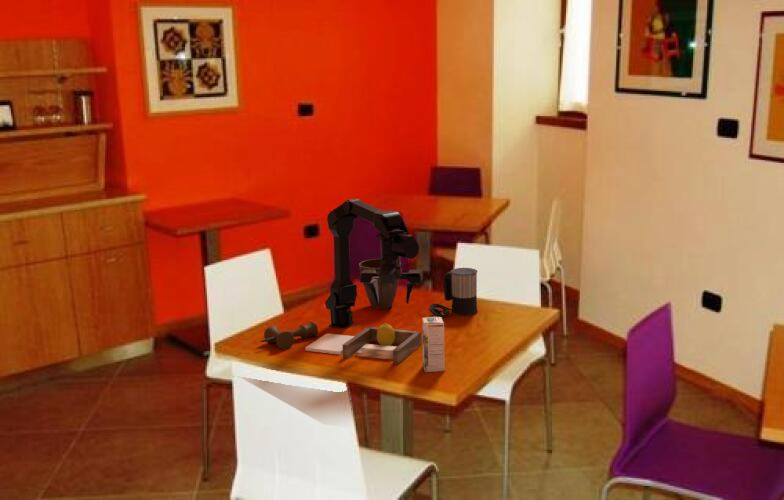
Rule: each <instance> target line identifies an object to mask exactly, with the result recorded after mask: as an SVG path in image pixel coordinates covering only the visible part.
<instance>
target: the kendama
mask: <svg viewBox="0 0 784 500" xmlns="http://www.w3.org/2000/svg"><path fill="white" fill-rule="evenodd" d="M263 333H264V334H263V339H262V340H261V339H260V343H265V342H266V343H268V344H274V343H276V345H277V347H278V348H279V349H280V350H283V351H284V350H288V349H290V348H292V347H293V344H294V343H295V342H294V340H295V339H294V338H302V339H306V338H307V337H313V338H315V337H318V334H319V329H318V325H317V324H316V322H315V321H309V322H308V323H307V324H306V325H303V324H300V325H299V326H298V327H297V328H295V329H293V330H283V331H281V332H280V330H279V328H278V326H275V325H270V326H268V327H267V328H266V329H265V330H264V332H263Z"/></svg>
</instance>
